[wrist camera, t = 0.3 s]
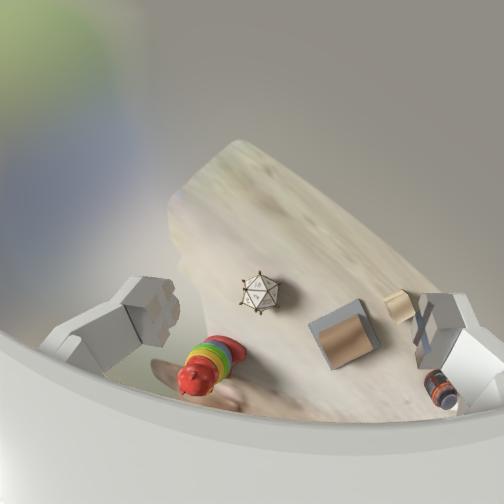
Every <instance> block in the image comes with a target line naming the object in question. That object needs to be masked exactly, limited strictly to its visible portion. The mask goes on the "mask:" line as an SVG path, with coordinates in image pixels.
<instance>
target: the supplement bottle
mask: <svg viewBox="0 0 504 504" xmlns="http://www.w3.org/2000/svg"><path fill="white" fill-rule="evenodd" d="M424 386H425V389H426V390H427V392H428V394H429V396H430V397H431V399H432V401H433V403H434V404H435V405H436V406H437V407H441V408H442V409H444V410H448V409H451V408H452V407H453V406H454V405H455V404H456V402H457V396H456V395H457V390H456V389H455V388H454V386H453V385H452V384H451V382H450V381H449V380H448V378H447V377H446V376H445V375H444V373H443V372H442V371H441V370H434V371H432V372H430V373H429V374H428V375H427V376H426V378H425V381H424Z"/></svg>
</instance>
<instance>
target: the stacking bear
mask: <svg viewBox="0 0 504 504" xmlns="http://www.w3.org/2000/svg"><path fill="white" fill-rule="evenodd" d="M245 357H246V350H245V348H244V347H243V346H242V345H240V344H239V343H238V342H236V341H234V340H232V339H230V338H227V337H224V336H211V337H209V338H207V339H206V340H205V341H204V342H203V343H201V344H199V345H197V346H196V347H195V348H194V349H193V350H192V351H191V353H190V354H189V356H188V358H187V360H186V363H185V366H184V367H183V368H182V369H181V370H180V371H179V373H178V376H177V381H178V384H179V386H180V388H181V389H180V394H181V395H183V394H184V393H187V394H188V395H191V396H205V395H208V394H209V393H211V392H212V391H213V388H214V385H215V384H217V383H219V382H220V381H222V380H223V379H225V378H227V377H228V376H230V374H231V368H232V366H233V365H234V364H235V363H237V362H240V361H243V360H244V358H245Z"/></svg>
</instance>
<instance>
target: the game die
mask: <svg viewBox="0 0 504 504" xmlns="http://www.w3.org/2000/svg"><path fill="white" fill-rule="evenodd" d="M242 282H244V288H243V291H244V292H243V301H242V302H241V303H239V305H242V304H245V305H247V306H249V307H251V308H253V309H255V313H256V312H257V310H258V311H260V315H262V311H264V310H267V309H269V308H272V307H274V306H276V307H277V308H280V307H279V305H277V297H278V285H279V284H281V283H282V282H279V283H276V282H274V281H272V280H271V279H269V278H267V277H265V276H263V275H261V271H259V275H257V276H255V277H253V278H251V279H249V280H248V281H245V280H242Z"/></svg>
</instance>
